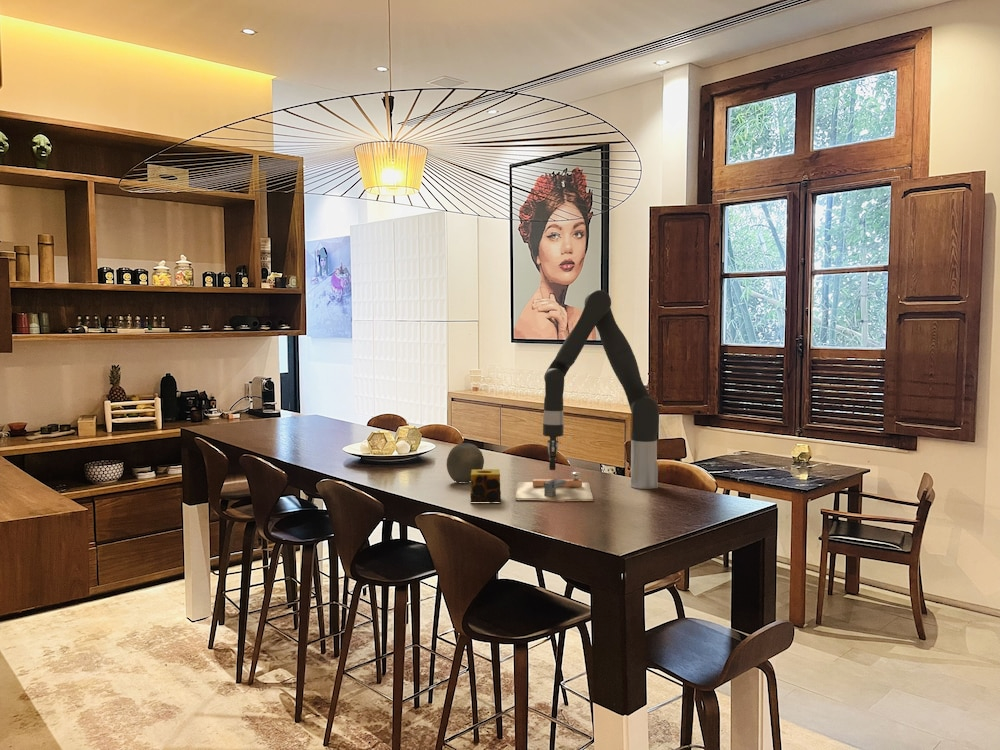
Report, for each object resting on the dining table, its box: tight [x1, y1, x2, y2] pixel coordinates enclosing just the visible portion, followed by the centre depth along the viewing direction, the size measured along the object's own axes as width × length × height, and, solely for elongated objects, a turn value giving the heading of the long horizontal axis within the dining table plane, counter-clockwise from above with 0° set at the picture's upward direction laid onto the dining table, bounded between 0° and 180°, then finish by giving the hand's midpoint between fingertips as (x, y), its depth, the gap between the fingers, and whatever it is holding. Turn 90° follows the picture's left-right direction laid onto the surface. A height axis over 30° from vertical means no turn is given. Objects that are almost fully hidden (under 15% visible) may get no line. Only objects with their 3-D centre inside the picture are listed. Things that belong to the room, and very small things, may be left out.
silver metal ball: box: [570, 471, 582, 480], centre depth 275 cm, size 3×3×3 cm
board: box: [515, 481, 594, 502], centre depth 270 cm, size 26×28×1 cm
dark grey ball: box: [446, 442, 485, 483], centre depth 287 cm, size 14×14×15 cm
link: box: [532, 478, 583, 487], centre depth 276 cm, size 18×4×2 cm, turn 87°
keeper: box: [544, 478, 566, 497], centre depth 262 cm, size 8×4×4 cm, turn 147°
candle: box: [469, 468, 502, 502], centre depth 257 cm, size 10×10×10 cm
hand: (552, 469), depth 281 cm, fingers closed
